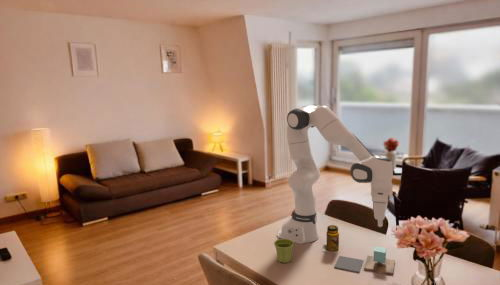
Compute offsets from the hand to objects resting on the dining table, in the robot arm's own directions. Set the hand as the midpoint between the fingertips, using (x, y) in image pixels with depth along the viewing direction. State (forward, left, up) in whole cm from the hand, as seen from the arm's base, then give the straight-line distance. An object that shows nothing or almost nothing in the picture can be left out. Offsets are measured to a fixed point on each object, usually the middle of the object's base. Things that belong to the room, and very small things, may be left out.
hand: (381, 222), depth 156 cm
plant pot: (-42, -11, -21) cm, 49 cm away
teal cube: (0, 0, -18) cm, 18 cm away
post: (0, 0, -21) cm, 21 cm away
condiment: (-24, +8, -21) cm, 33 cm away
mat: (-13, -4, -21) cm, 25 cm away
